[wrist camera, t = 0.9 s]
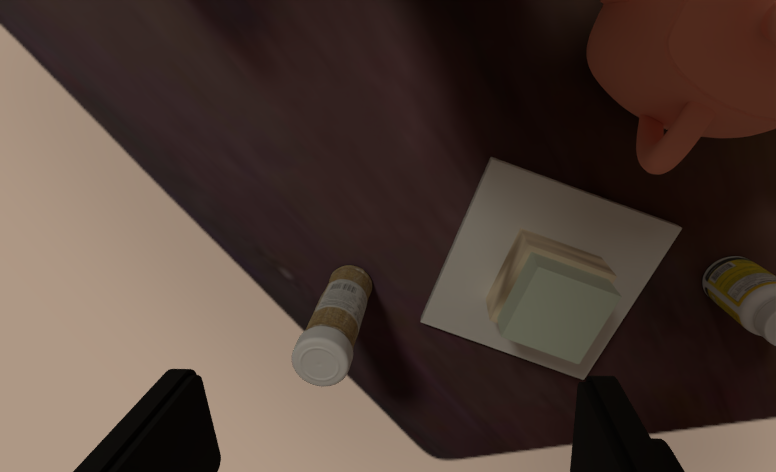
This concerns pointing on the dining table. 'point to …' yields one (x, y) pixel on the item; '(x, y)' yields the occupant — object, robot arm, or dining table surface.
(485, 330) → the base plate
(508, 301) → the sage block
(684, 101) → the teapot
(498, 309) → the birch block
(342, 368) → the sprinkles bottle
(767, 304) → the supplement bottle
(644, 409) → the dining table surface
